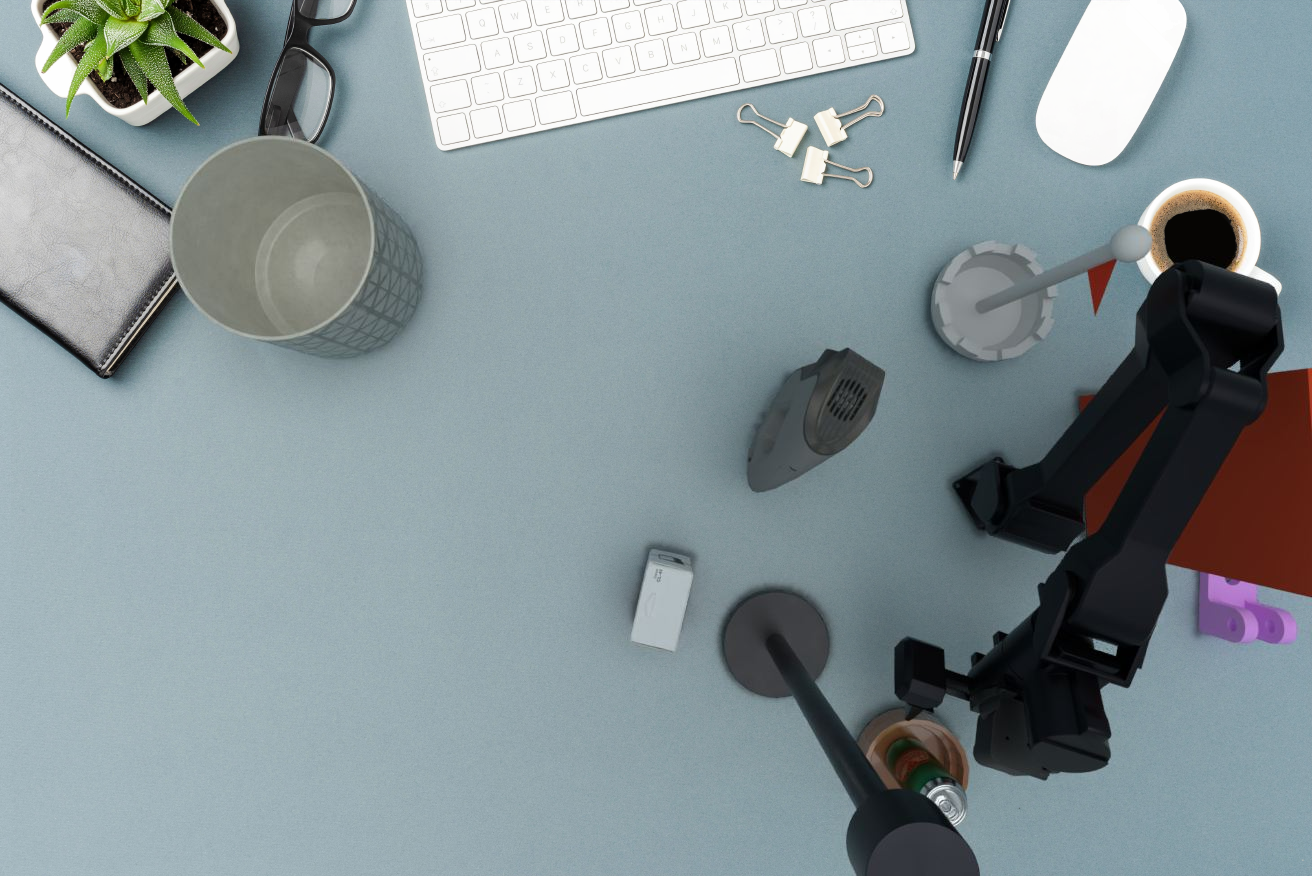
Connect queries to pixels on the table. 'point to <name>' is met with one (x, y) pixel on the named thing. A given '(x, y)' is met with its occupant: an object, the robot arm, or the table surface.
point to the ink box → (662, 600)
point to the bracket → (1241, 613)
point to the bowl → (921, 728)
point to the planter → (293, 250)
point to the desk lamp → (840, 741)
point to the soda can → (926, 777)
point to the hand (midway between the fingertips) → (948, 730)
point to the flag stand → (1017, 293)
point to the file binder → (1244, 496)
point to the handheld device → (814, 417)
